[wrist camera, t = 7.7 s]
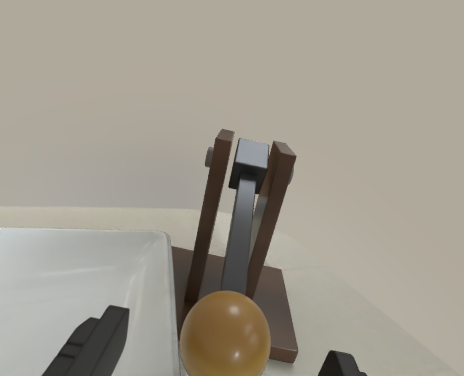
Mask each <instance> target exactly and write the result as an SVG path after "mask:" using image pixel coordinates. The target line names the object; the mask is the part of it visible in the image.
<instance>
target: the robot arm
mask: <svg viewBox="0 0 464 376" xmlns="http://www.w3.org/2000/svg"><path fill="white" fill-rule="evenodd" d="M129 314H130V309H129V308H124V307H119V306H114V305H109V306H108V307H107V309H106V310H105V312H104V313H103V315H102V316H101V318H100V319H98V318H93V317H90V318H88V319H87V320H86V321H84V322H83V323H82V324H80V325H79V326H78V327H76V329H75V330H74V331H73V333H72V334H71V336H70V337H69V338H68V340H67V341H66V344H64V345H63V347H62V348H61V349H60V351H59V352H58V355H57V356H55V358H54V359H53V361H52V362H51V363H50V365H49V366H48V367H47V369H46V370H45V372H44V373H43V374H42V376H112V374H113V371H114V369H115V367H116V365H117V363H118V361H119V359H120V357H121V354H122V352H123V349H124V347H125V343H126V339H127V333H128V323H129ZM318 376H367V375H366V373H364V372H360V371H359V369H358V366H357V364H356V362H355V359H354V357H353V356H352V355H351V354H348V353H343V352H338V351H333V350H331V351H329V353H328V355H327V357H326V359H325V361H324V363H323V366H322V368H321V370H320V372H319V374H318Z"/></svg>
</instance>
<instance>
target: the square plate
mask: <svg viewBox="0 0 464 376" xmlns="http://www.w3.org/2000/svg"><path fill="white" fill-rule="evenodd" d="M109 305H114V306H119V307H124V308H129V309H130V314H129V323H128V333H127V339H126V343H125V347H124V349H123V352H122V354H121V357H120V359H119V361H118V363H117V365H116V367H115V369H114V371H113V374H112V376H180V364H179V351H178V338H177V323H176V306H175V288H174V271H173V257H172V248H171V241H170V237H169V235H168V234H167V233H165V232H161V231H146V230H100V229H62V228H24V227H0V376H42V374H43V373H44V372H45V370H46V369H47V367H48V366H49V365H50V363H51V362H52V361H53V359H54V358H55V356H57V355H58V352H59V351H60V349H61V348H62V347H63V345H64V344H66V341H67V340H68V338H69V337H70V336H71V334H72V333H73V331H74V330H75V329H76V327H78V326H79V325H80V324H82V323H83V322H84V321H86V320H87V319H88V318H90V317H93V318H98V319H100V318H101V316H102V315H103V313H104V312H105V310H106V309H107V307H108V306H109Z"/></svg>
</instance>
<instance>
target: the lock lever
mask: <svg viewBox="0 0 464 376" xmlns="http://www.w3.org/2000/svg"><path fill="white" fill-rule="evenodd" d="M268 158H269V145H268V144H264V143H259V142H255V141H250V140H246V139H242V138H239V140H238V145H237V149H236V153H235V158H234V162H233V167H232V172H231V176H230V181H229V186H228V187H229V188H232V189H236V196H235V202H234V208H233V213H232V219H231V225H230V231H229V237H228V242H227V248H226V254H225V260H224V266H223V272H222V277H221V283H220V289H219V291H217V292H214V293H211V294H209V295H207V296H205V297H203V298H202V299H200V300H199V301H198V302H197V303H196V304H195V305H194V306H193V307H192V309H191V310H190V311H189V313H188V315H187V316H186V319H185V321H184V323H183V327H182V330H181V335H180V352H181V358H182V361H183V365H184V367H185V369H186V371H187V373H188V374H189V376H261V374H262V373H263V371H264V369H265V367H266V365H267V362H268V359H269V355H270V349H271V336H270V330H269V326H268V323H267V320H266V318H265V316H264V314H263V312H262V311H261V309H260V308H259V307H258V306H257V304H256V303H255V302H254V301H252V300H251V299H250V298H248V297H247V296H245V292H246V282H247V272H248V262H249V251H250V241H251V231H252V221H253V210H254V199H255V194H259V193H260V190H261V187H262V184H263V182H264V179H265V176H266V173H267V171H268Z"/></svg>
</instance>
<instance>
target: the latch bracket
mask: <svg viewBox="0 0 464 376" xmlns="http://www.w3.org/2000/svg"><path fill="white" fill-rule="evenodd" d="M233 137H234V132H233V131H229V130H224V129H222V130H221V131H220V133H219V134H218V136H217V137H216V139H215V144H214V148H212V147H209V148H208V151H207V155H206V160H205V166H206V167H209V168H210V170H209V175H208V180H207V186H206V190H205V195H204V201H203V206H202V211H201V216H200V221H199V226H198V232H197V237H196V242H195V247H194V251H192V250H187V249H182V248H178V247H173V246H171V248H172V257H173V271H174V288H175V306H176V323H177V338H178V340H180V335H181V330H182V327H183V323H184V321H185V319H186V316H187V315H188V313H189V311H190V310H191V309H192V307H193V306H194V305H195V304H196V303H197V302H198V301H199V300H200V299H202V298H203V297H205V296H207V295H209V294H211V293H214V292H217V291H219V289H220V283H221V277H222V272H223V266H224V260H225V257H220V256H215V255H211V254H208V253H209V248H210V244H211V239H212V234H213V230H214V225H215V220H216V216H217V211H218V207H219V202H220V197H221V193H222V188H223V184H224V179H225V174H226V170H227V165H228V160H229V156H230V151H231V147H232V141H233ZM295 160H296V155H295V154H294V153H293V152H292V150H291V149H290V148H289V147H288V146H287V145H286V143H282V142H277V141H273V144H272V148H271V152H270V155H269V159H268V171H267V173H266V176H265V179H264V182H263V184H262V187H261V190H260V193H259V196H258V200H257V204H256V208H255V211H254V215H253V221H252V231H251V241H250V251H249V262H248V272H247V282H246V292H245V296H247V297H248V298H250V299H251V300H252V301H254V302H255V303H256V304H257V306H258V307H259V308H260V309H261V311H262V312H263V314H264V316H265V318H266V320H267V323H268V326H269V330H270V336H271V349H270V355H269V358H270V359H275V360H279V361H284V362H289V363H294V361H295V358H296V356H297V354H298V347H297V343H296V338H295V333H294V328H293V323H292V319H291V314H290V309H289V304H288V299H287V295H286V290H285V285H284V280H283V275H282V271H281V269H277V268H272V267H267V266H263V265H264V261H265V258H266V255H267V252H268V248H269V245H270V242H271V238H272V235H273V232H274V229H275V225H276V222H277V219H278V216H279V212H280V209H281V205H282V203H283V199H284V196H285V193H286V190H287V186H288V185H289V184H290V182H291V179H292V177H293V171H294V163H295Z"/></svg>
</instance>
